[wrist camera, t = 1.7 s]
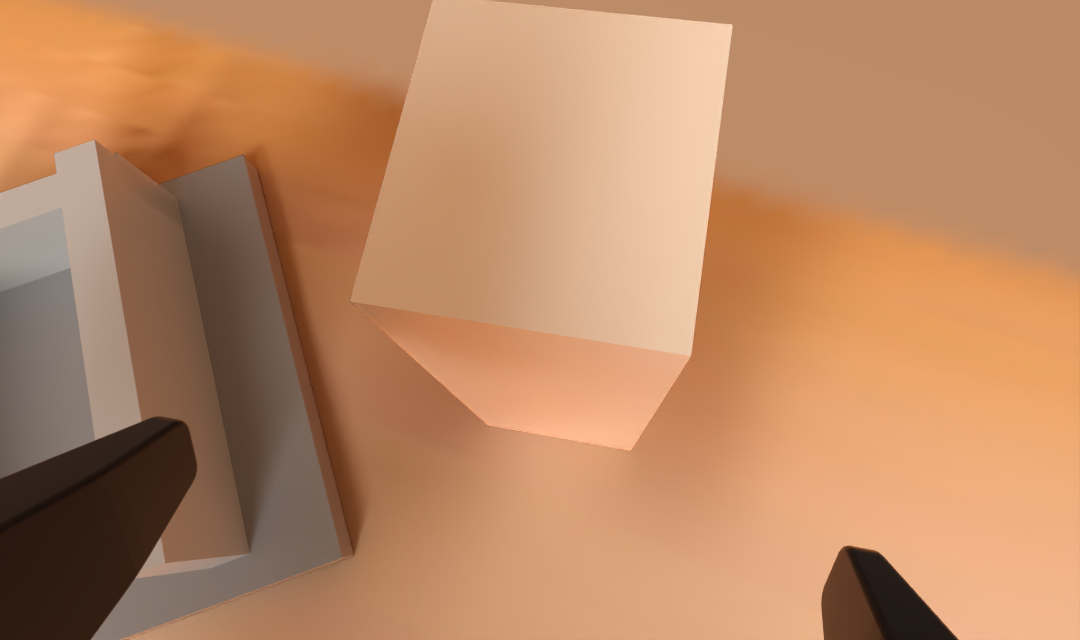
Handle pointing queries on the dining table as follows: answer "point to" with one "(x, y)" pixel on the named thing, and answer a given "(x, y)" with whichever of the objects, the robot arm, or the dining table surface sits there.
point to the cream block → (549, 212)
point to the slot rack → (168, 367)
